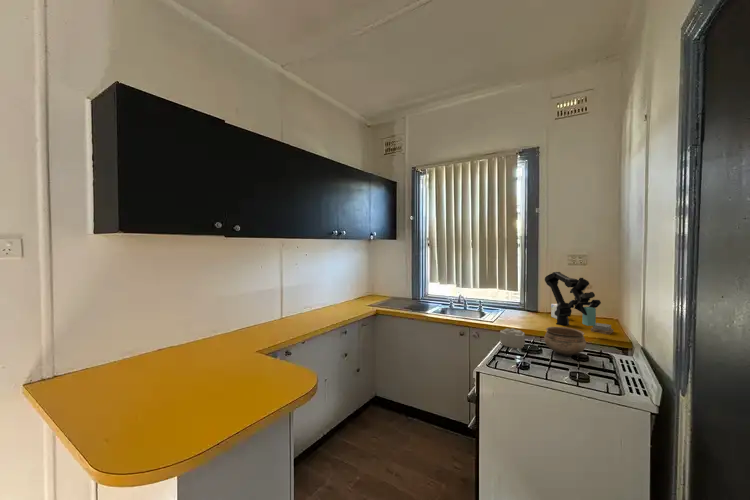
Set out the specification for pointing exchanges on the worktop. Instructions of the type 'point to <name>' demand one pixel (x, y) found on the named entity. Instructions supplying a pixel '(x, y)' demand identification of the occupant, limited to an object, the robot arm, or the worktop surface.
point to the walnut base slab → (602, 331)
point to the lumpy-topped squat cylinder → (512, 338)
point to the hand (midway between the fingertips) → (590, 314)
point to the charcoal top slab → (602, 327)
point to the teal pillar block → (589, 316)
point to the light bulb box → (553, 310)
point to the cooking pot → (565, 340)
